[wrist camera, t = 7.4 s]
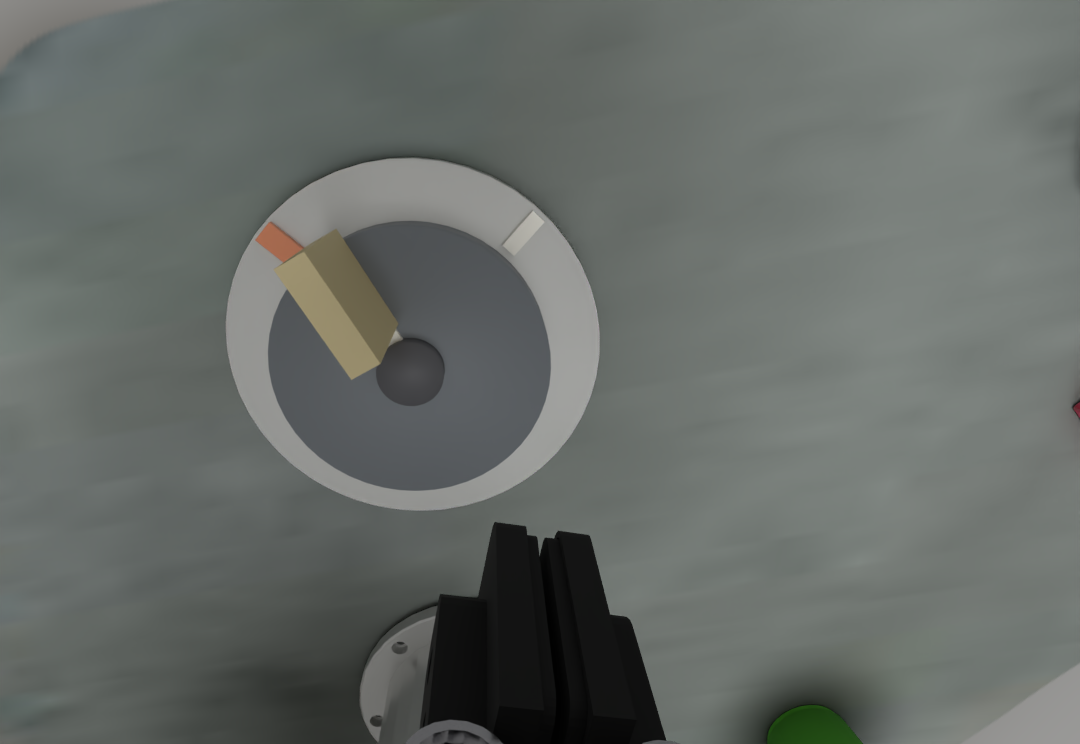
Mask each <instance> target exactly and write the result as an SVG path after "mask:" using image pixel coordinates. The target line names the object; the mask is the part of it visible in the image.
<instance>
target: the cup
mask: <svg viewBox="0 0 1080 744" xmlns="http://www.w3.org/2000/svg"><path fill="white" fill-rule="evenodd" d="M767 744H863V743H862V742H861V741H860V739H859V738H858V737H857V736H856V734H855V733H854V732H853V731H852V730H851V728H850V727H849V726H848V725H847V724H846V722H845V721H844V720H843V719H842V718H841V717H840V716H839V715H838V714H836V713H834V712H833V711H832V710H830V709H828V708H826V707H823V706H819V705H805V706H799V707H797V708H794V709H791V710H789V711H787V712H785V713H784V714H782V715H781V716H780V717H779V718H777V719H776V720H775V722H774V723H773V724H772V725H771V727H770V730H769V732H768V737H767Z"/></svg>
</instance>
